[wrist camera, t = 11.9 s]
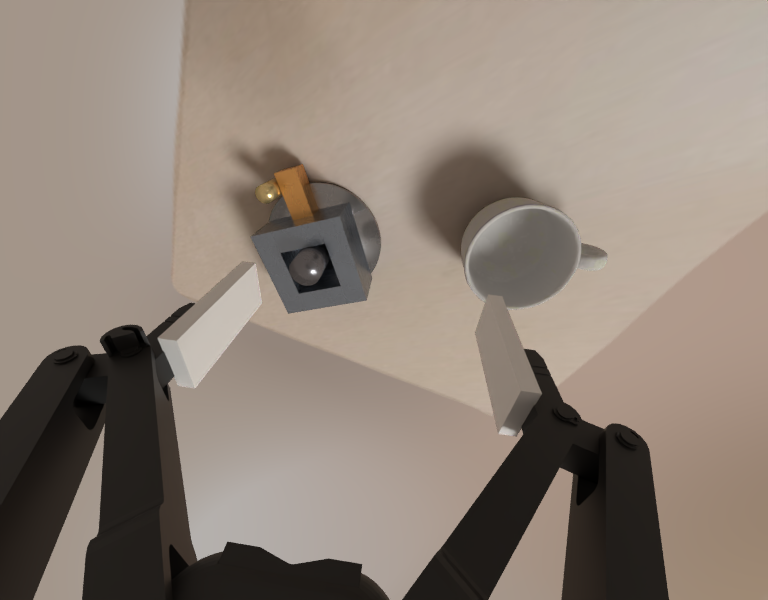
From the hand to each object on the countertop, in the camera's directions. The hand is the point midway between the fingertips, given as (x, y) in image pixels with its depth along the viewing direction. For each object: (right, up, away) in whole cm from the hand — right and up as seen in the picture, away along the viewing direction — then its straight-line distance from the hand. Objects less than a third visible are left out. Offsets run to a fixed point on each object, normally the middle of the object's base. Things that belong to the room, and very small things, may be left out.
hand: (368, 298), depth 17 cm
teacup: (+16, +7, +19) cm, 26 cm away
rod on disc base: (-7, +7, +21) cm, 23 cm away
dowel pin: (-11, +13, +17) cm, 24 cm away
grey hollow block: (-7, +8, +19) cm, 22 cm away
